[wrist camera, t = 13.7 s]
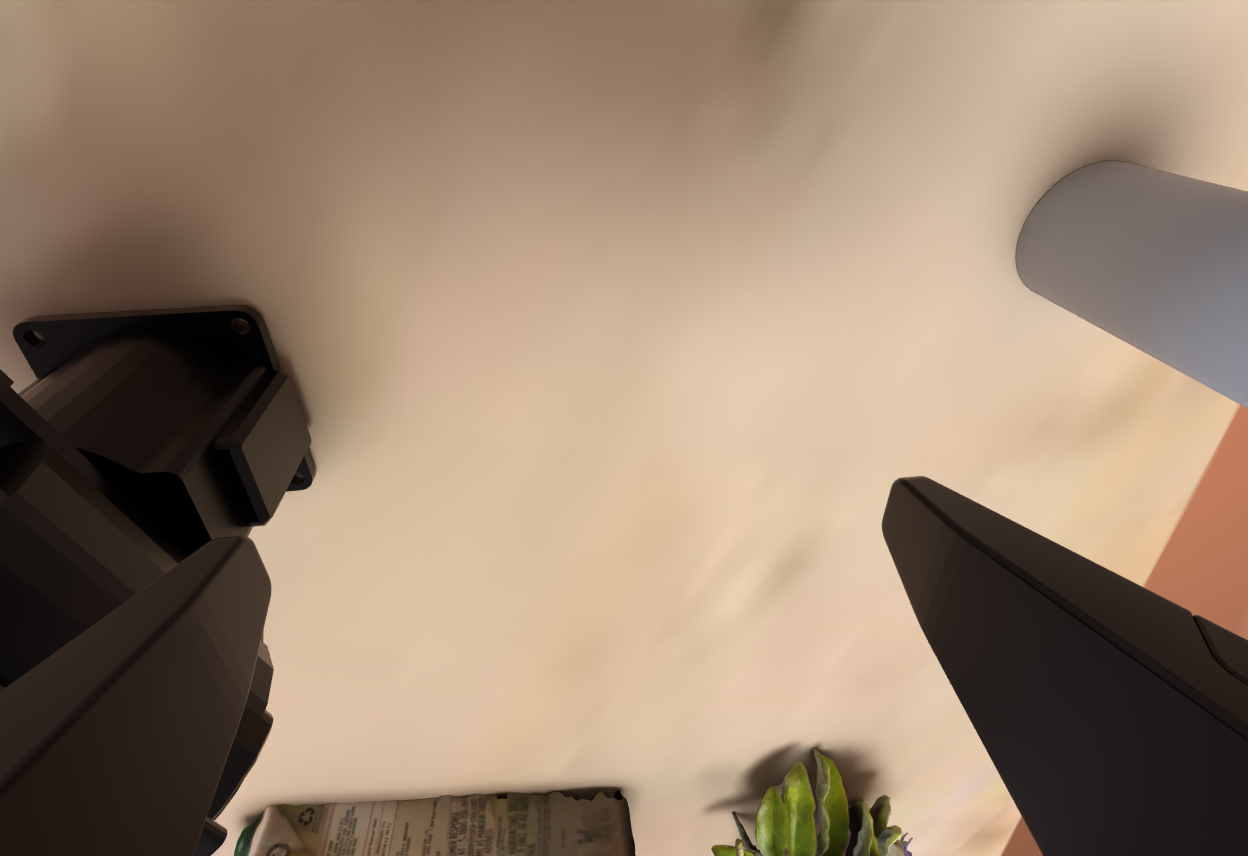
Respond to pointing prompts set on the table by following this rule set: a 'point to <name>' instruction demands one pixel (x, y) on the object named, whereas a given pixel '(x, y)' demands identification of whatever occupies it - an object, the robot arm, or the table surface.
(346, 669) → the table surface
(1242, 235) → the slate-blue peg
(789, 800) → the green succulent plant
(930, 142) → the table surface
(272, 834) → the dark olive boxy piece
